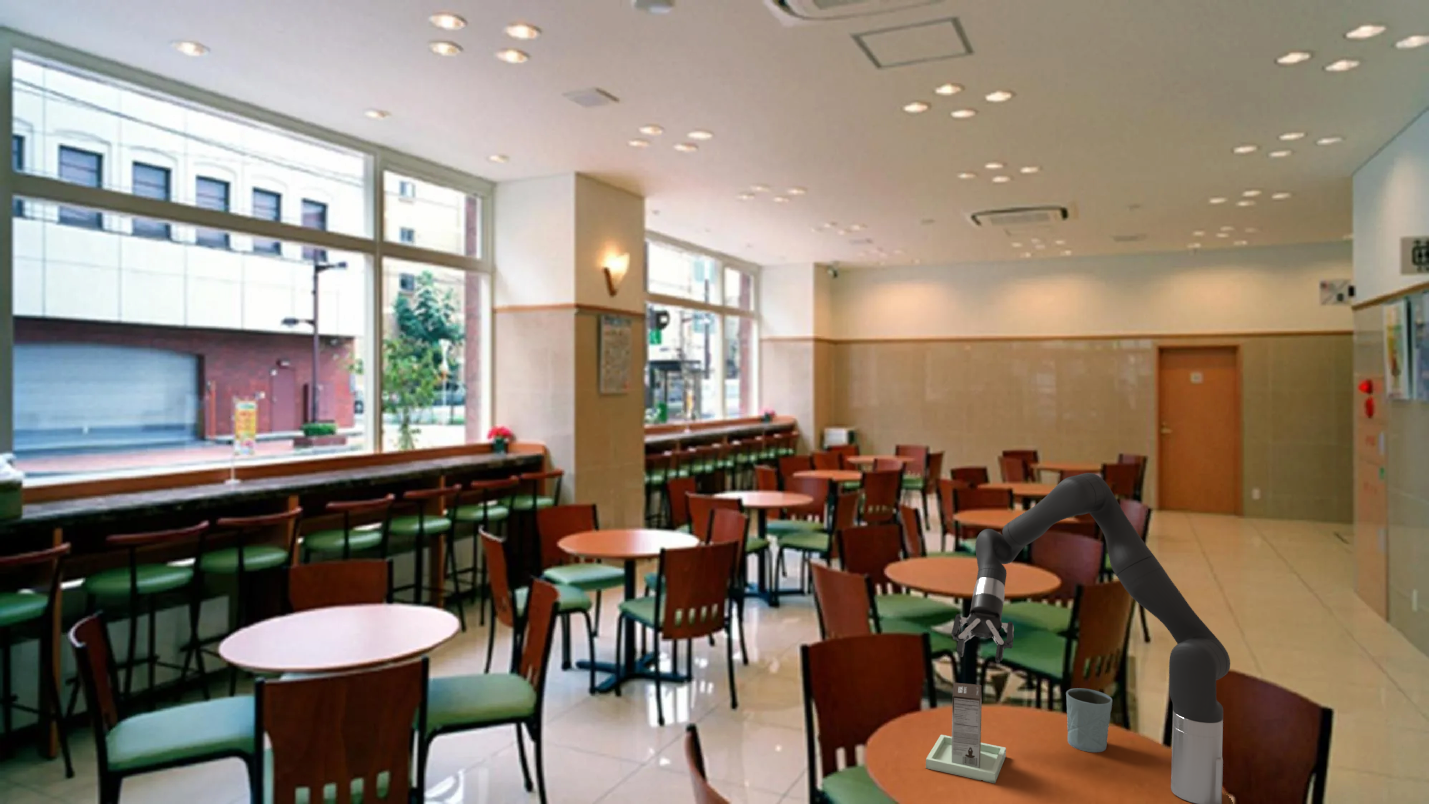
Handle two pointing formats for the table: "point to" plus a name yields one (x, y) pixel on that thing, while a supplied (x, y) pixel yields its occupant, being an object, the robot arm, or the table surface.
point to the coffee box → (966, 724)
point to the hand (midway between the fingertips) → (978, 658)
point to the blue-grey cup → (1088, 719)
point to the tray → (942, 762)
